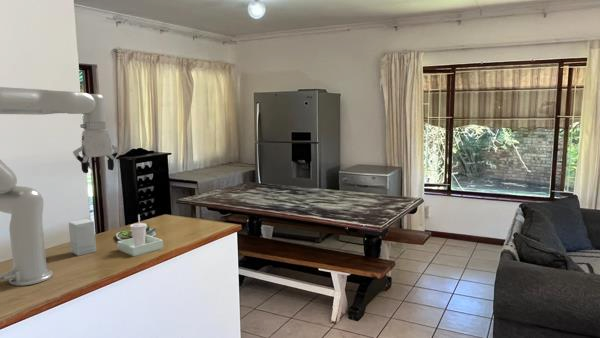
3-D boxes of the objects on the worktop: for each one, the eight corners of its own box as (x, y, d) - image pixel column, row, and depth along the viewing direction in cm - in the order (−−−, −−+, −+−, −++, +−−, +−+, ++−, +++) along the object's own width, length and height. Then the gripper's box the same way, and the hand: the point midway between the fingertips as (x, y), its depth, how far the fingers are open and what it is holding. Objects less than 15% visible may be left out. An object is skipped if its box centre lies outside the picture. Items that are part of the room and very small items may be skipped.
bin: (133, 256, 172) (133, 247, 171) (117, 249, 180) (117, 241, 180) (163, 248, 181) (162, 240, 181) (146, 242, 190) (146, 234, 190)
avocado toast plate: (161, 240, 193) (160, 230, 193) (117, 246, 186) (116, 236, 185) (155, 230, 211) (155, 221, 210) (115, 235, 203) (114, 225, 202)
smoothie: (142, 250, 177) (140, 216, 175) (128, 249, 178) (125, 216, 176) (151, 245, 183) (148, 212, 181) (137, 245, 184) (134, 212, 182)
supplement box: (96, 251, 179) (94, 221, 177) (77, 256, 173) (75, 224, 172) (89, 247, 184) (87, 218, 182) (70, 252, 178) (68, 221, 177)
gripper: (75, 127, 159) (79, 174, 162) (121, 126, 172) (124, 169, 174) (67, 127, 164) (71, 173, 167) (112, 125, 177) (115, 168, 179)
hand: (98, 171), depth 170 cm, fingers open, 9 cm apart
